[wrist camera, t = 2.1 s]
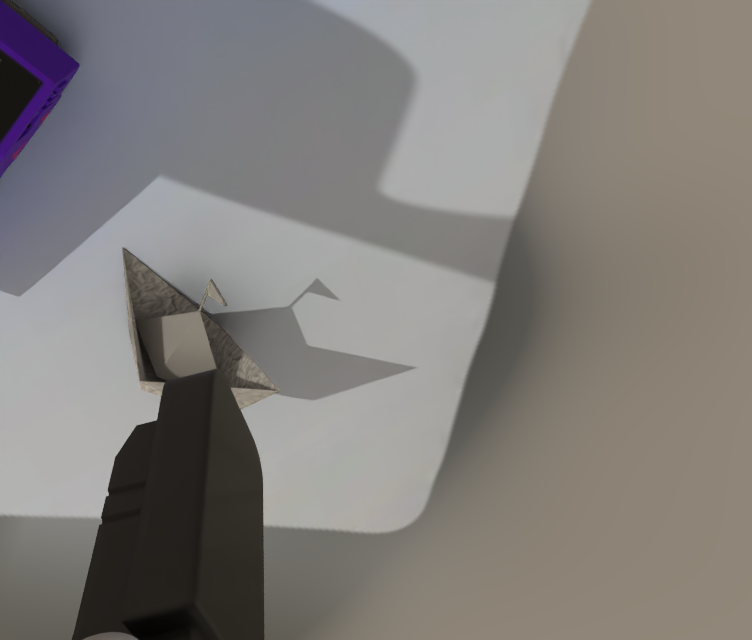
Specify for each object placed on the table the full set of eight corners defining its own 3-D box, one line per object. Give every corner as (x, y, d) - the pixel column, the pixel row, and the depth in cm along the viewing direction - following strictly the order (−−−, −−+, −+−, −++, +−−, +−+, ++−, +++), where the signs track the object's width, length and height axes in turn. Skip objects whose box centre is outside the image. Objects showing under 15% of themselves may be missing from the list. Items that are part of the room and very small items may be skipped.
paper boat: (55, 346, 38) (75, 227, 32) (141, 301, 42) (172, 191, 36) (207, 486, 36) (258, 389, 30) (278, 422, 41) (334, 328, 35)
